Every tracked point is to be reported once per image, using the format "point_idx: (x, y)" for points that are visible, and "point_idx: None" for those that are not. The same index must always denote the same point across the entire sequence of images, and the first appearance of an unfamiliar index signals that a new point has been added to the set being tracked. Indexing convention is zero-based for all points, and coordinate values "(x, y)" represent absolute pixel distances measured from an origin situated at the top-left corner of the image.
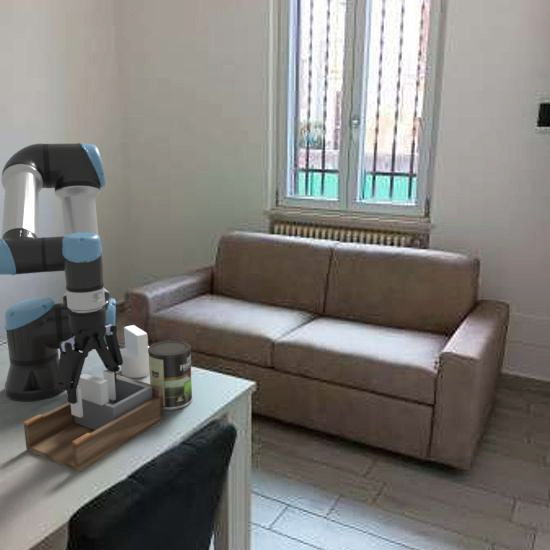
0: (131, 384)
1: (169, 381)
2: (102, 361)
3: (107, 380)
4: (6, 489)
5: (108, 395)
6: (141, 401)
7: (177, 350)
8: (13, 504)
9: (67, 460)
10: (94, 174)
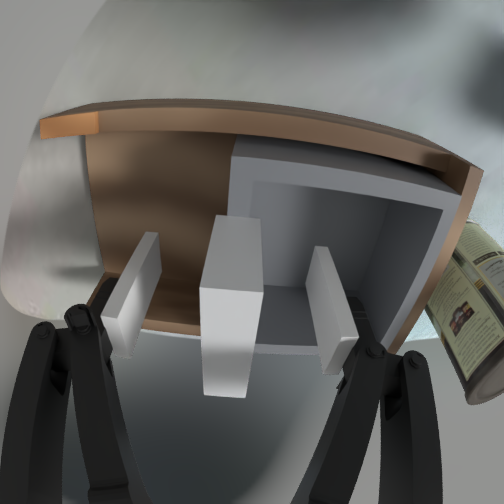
0: (402, 295)
1: (440, 337)
2: (347, 391)
3: (324, 321)
4: (13, 205)
5: (313, 271)
6: None
7: (498, 385)
8: (13, 246)
9: (105, 247)
10: None
